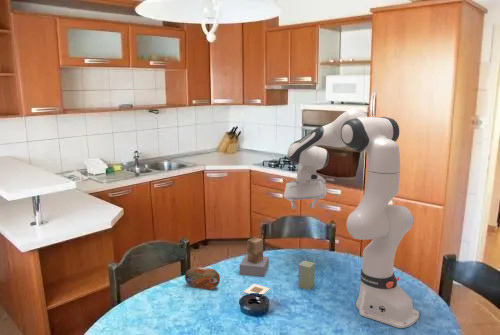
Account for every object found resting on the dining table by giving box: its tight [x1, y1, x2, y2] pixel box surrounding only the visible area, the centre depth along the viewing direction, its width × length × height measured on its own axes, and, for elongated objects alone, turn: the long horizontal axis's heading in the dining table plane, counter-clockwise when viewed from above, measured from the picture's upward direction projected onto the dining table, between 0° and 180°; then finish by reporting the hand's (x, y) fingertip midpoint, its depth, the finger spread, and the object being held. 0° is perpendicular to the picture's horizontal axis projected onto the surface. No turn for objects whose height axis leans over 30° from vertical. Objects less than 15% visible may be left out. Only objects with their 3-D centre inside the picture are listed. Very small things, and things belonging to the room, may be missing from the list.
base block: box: [239, 254, 270, 278], centre depth 189 cm, size 11×11×5 cm
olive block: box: [297, 260, 316, 291], centre depth 173 cm, size 5×5×10 cm
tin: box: [184, 266, 221, 291], centre depth 174 cm, size 15×3×8 cm, turn 73°
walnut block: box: [246, 236, 264, 264], centre depth 187 cm, size 5×5×10 cm
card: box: [243, 283, 271, 295], centre depth 171 cm, size 8×8×1 cm
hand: (302, 208), depth 187 cm, fingers open, 8 cm apart
